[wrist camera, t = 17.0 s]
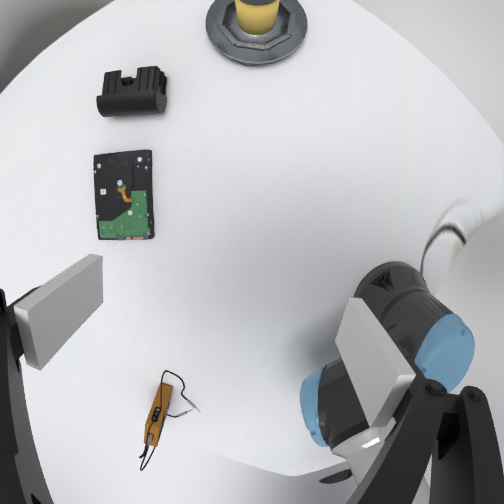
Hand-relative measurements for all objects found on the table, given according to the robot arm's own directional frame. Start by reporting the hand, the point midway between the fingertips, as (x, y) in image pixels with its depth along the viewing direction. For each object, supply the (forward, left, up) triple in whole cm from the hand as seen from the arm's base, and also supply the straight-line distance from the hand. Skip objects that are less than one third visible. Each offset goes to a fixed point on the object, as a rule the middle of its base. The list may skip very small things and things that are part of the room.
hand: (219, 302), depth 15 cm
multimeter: (+7, +43, -35) cm, 56 cm away
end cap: (+20, -16, -35) cm, 43 cm away
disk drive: (+20, +1, -35) cm, 41 cm away
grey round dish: (+3, -31, -35) cm, 47 cm away
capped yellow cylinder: (+3, -31, -32) cm, 44 cm away
